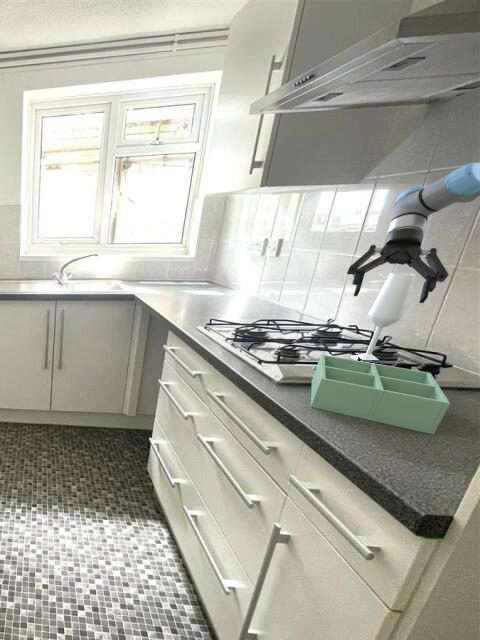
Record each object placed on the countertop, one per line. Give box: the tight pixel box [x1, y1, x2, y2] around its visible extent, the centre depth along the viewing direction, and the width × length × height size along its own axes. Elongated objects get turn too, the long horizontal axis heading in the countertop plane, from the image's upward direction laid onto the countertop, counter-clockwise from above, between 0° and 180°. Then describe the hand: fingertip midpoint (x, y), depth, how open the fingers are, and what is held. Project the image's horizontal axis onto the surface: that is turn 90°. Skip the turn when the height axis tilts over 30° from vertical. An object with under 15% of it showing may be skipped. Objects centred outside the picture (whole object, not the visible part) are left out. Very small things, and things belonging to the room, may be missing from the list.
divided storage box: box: [310, 354, 451, 436], centre depth 91 cm, size 19×19×7 cm
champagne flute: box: [350, 271, 416, 360], centre depth 113 cm, size 7×7×24 cm
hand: (388, 296), depth 115 cm, fingers open, 13 cm apart
